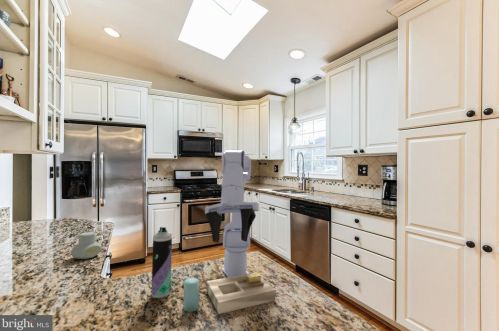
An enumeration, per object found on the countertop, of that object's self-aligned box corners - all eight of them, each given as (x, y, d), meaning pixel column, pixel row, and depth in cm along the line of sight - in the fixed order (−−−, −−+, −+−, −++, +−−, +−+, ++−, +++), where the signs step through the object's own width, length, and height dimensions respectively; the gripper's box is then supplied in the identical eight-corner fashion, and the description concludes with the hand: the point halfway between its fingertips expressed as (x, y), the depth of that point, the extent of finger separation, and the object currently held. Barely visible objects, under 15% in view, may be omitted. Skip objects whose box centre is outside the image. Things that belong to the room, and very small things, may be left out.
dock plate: (206, 291, 72) (206, 278, 72) (255, 281, 79) (255, 269, 79) (218, 314, 60) (218, 299, 61) (275, 300, 67) (275, 287, 68)
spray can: (151, 299, 67) (153, 229, 68) (151, 290, 72) (153, 225, 73) (171, 295, 69) (173, 228, 70) (170, 287, 74) (171, 224, 75)
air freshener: (93, 251, 107) (94, 229, 107) (105, 254, 103) (105, 231, 104) (66, 259, 97) (67, 235, 97) (78, 263, 94) (79, 237, 94)
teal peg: (182, 305, 65) (183, 279, 65) (197, 302, 66) (197, 277, 66) (184, 313, 61) (185, 286, 61) (200, 309, 62) (200, 283, 63)
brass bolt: (245, 282, 72) (245, 274, 72) (257, 280, 73) (257, 272, 73) (248, 286, 69) (249, 277, 69) (260, 283, 71) (261, 275, 71)
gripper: (201, 187, 62) (195, 239, 56) (252, 181, 58) (252, 237, 52) (213, 196, 68) (209, 244, 62) (260, 190, 64) (261, 242, 58)
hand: (229, 241), depth 57 cm, fingers open, 7 cm apart
